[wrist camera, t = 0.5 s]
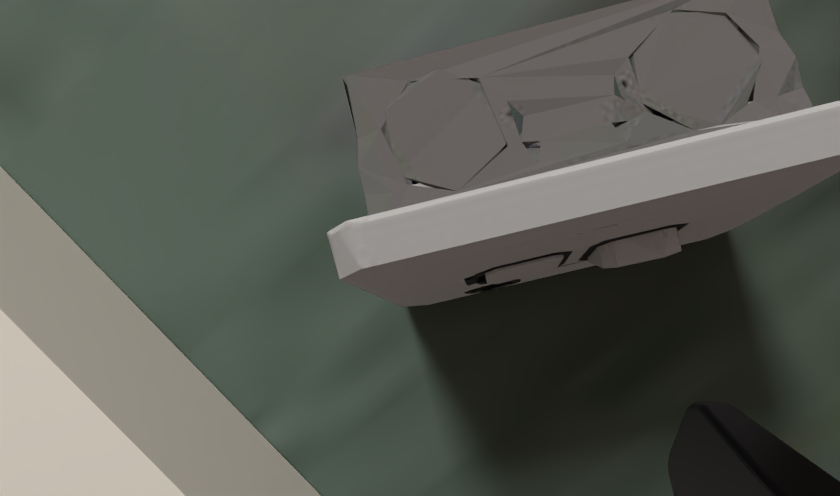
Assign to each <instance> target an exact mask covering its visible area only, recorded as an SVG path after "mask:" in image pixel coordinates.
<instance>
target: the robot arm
mask: <svg viewBox="0 0 840 496" xmlns="http://www.w3.org/2000/svg"><path fill="white" fill-rule="evenodd" d="M668 469H669V476H670V481H671V485H672V489H673V493H674V496H840V482H839V481H838V480H837V479H835V478H834V477H832V476H831V475H829V474H828V473H827V472H825V471H824V470H822V469H821V468H820V467H818V466H817V465H815V464H814V463H812V462H811V461H810V460H808V459H807V458H805V457H804V456H803V455H801V454H800V453H798V452H797V451H795V450H794V449H793V448H791V447H790V446H788V445H787V444H786V443H784V442H783V441H781V440H780V439H778V438H777V437H776V436H774V435H773V434H771V433H770V432H769V431H767V430H766V429H764V428H763V427H761V426H760V425H759V424H757V423H756V422H754V421H753V420H752V419H750V418H749V417H747V416H746V415H744V414H743V413H742V412H740V411H739V410H737V409H736V408H735V407H733V406H731V405H729V404H726V403H717V402H702V401H698V402H695V403H693V404H691V405H690V406H689V407H688V409H687V411H686V413H685V416H684V418H683V421H682V423H681V426H680V428H679V431H678V433H677V436H676V439H675V441H674V444H673V446H672V449H671V451H670V455H669V461H668Z"/></svg>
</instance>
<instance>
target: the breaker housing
mask: <svg viewBox="0 0 840 496" xmlns="http://www.w3.org/2000/svg"><path fill="white" fill-rule="evenodd" d="M0 496H321V495H320V494H319V493H318V492H317V491H316V490H315V489H314V488H313V487H312V486H311V485H310V484H309V483H308V482H307V481H306V480H305V479H304V478H303V477H302V476H301V475H300V474H299V473H298V472H297V471H296V470H295V469H294V468H293V466H292V465H291V464H290V463H289V462H288V461H287V460H286V459H285V458H284V457H283V456H282V455H281V454H280V453H279V452H278V451H277V450H276V449H275V448H274V447H273V446H272V445H271V444H270V443H269V442H268V441H267V440H266V439H265V438H264V437H263V436H262V435H261V434H260V433H259V432H258V431H257V430H256V428H255V427H254V426H253V425H252V424H251V423H250V422H249V421H248V420H247V419H246V418H245V417H244V416H243V415H242V414H241V413H240V412H239V411H238V410H237V409H236V408H235V407H234V406H233V405H232V404H231V403H230V402H229V401H228V400H227V399H226V398H225V397H224V396H223V395H222V394H221V393H220V392H219V390H218V389H217V388H216V387H215V386H214V385H213V384H212V383H211V382H210V381H209V380H208V379H207V378H206V377H205V376H204V375H203V374H202V373H201V372H200V371H199V370H198V369H197V368H196V367H195V366H194V365H193V364H192V363H191V362H190V361H189V360H188V359H187V358H186V357H185V356H184V355H183V353H182V352H181V351H180V350H179V349H178V348H177V347H176V346H175V345H174V344H173V343H172V342H171V341H170V340H169V339H168V338H167V337H166V336H165V335H164V334H163V333H162V332H161V331H160V330H159V329H158V328H157V327H156V326H155V325H154V324H153V323H152V322H151V321H150V320H149V319H148V318H147V317H146V315H145V314H144V313H143V312H142V311H141V310H140V309H139V308H138V307H137V306H136V305H135V304H134V303H133V302H132V301H131V300H130V299H129V298H128V297H127V296H126V295H125V294H124V293H123V292H122V291H121V290H120V289H119V288H118V287H117V286H116V285H115V284H114V283H113V282H112V281H111V280H110V279H109V277H108V276H107V275H106V274H105V273H104V272H103V271H102V270H101V269H100V268H99V267H98V266H97V265H96V264H95V263H94V262H93V261H92V260H91V259H90V258H89V257H88V256H87V255H86V254H85V253H84V252H83V251H82V250H81V249H80V248H79V247H78V246H77V245H76V244H75V243H74V242H73V240H72V239H71V238H70V237H69V236H68V235H67V234H66V233H65V232H64V231H63V230H62V229H61V228H60V227H59V226H58V225H57V224H56V223H55V222H54V221H53V220H52V219H51V218H50V217H49V216H48V215H47V214H46V213H45V212H44V211H43V210H42V209H41V208H40V207H39V206H38V205H37V204H36V202H35V201H34V200H33V199H32V198H31V197H30V196H29V195H28V194H27V193H26V192H25V191H24V190H23V189H22V188H21V187H20V186H19V185H18V184H17V183H16V182H15V181H14V180H13V179H12V178H11V177H10V176H9V175H8V174H7V173H6V172H5V171H4V170H3V169H2V168H1V167H0Z"/></svg>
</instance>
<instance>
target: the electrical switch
mask: <svg viewBox="0 0 840 496" xmlns="http://www.w3.org/2000/svg"><path fill="white" fill-rule="evenodd" d="M673 9H674V10H679V11H684V12H678V13H670V12H671V11H672V10H673ZM632 56H633V70H632V67H631V64H630V60H629V59H630V58H631V57H632ZM345 77H346V82H347V85H346V83H345V82H344V85H345V89H346V93H347V97H348V101H349V105H350V109H351V113H352V117H353V121H354V125H355V129H356V151H357V161H358V169H359V173H360V177H361V181H362V185H363V189H364V193H365V199H366V205H367V212H368V216H365V217H361V218H356V219H352V220H348V221H346V222H344V223H342V224H340V225H339V226H337V227H335V228H334V229H332V230H330V231H329V232H327V235H328V238H329V241H330V245H331V249H332V252H333V256H334V260H335V264H336V267H337V271H338V275H339V279H340V280H342V281H344V282H347V283H349V284H351V285H353V286H356V287H358V288H360V289H362V290H365V291H367V292H369V293H371V294H374V295H376V296H378V297H380V298H383V299H385V300H387V301H390V302H392V303H394V304H396V305H399V306H401V307H407V306H421V305H430V304H435V303H439V302H443V301H447V300H452V299H456V298H460V297H464V296H468V295H473V294H477V293H481V292H485V291H490V290H494V289H498V288H503V287H506V286H511V285H515V284H519V283H523V282H528V281H532V280H536V279H540V278H544V277H549V276H553V275H557V274H561V273H566V272H570V271H574V270H578V269H582V268H587V267H591V266H595V265H596V266H599V267H601V268H617V267H622V266H627V265H631V264H636V263H640V262H645V261H650V260H654V259H659V258H664V257H667V256H669V255H672V254H675V253H677V252H680V251H682V250H681V245H684V244H688V243H692V242H696V241H701V240H705V239H708V238H711V237H713V236H716V235H719V234H721V233H724V232H727V231H729V230H731V229H733V228H735V227H737V226H739V225H741V224H743V223H745V222H747V221H749V220H751V219H753V218H755V217H757V216H759V215H760V214H762V213H764V212H766V211H768V210H770V209H772V208H774V207H776V206H777V205H779V204H781V203H783V202H785V201H787V200H789V199H791V198H792V197H794V196H796V195H798V194H800V193H802V192H803V191H805V190H807V189H809V188H810V187H812V186H814V185H816V184H818V183H819V182H821V181H823V180H825V179H826V178H828V177H830V176H832V175H834V174H835V173H837V172H839V171H840V101H836V102H832V103H828V104H824V105H820V106H815V107H813V106H812V104H811V102H810V100H809V98H808V96H807V94H806V92H805V90H804V88H803V85H802V81H801V76H800V72H799V67H798V63H797V59H796V56H795V55H794V53H793V52H792V51H791V49H790V48H789V46H788V45H787V43H786V42H785V41H784V39H783V38H782V36H781V35H780V33H779V32H778V29H777V26H776V23H775V20H774V17H773V14H772V10H771V7H770V4H769V1H768V0H632V1H629V2H625V3H621V4H617V5H613V6H609V7H606V8H602V9H598V10H594V11H590V12H586V13H583V14H579V15H575V16H571V17H567V18H563V19H560V20H556V21H552V22H548V23H544V24H540V25H537V26H533V27H529V28H525V29H521V30H517V31H514V32H510V33H506V34H502V35H498V36H494V37H491V38H487V39H483V40H479V41H475V42H471V43H468V44H464V45H460V46H456V47H452V48H448V49H445V50H441V51H437V52H433V53H429V54H426V55H422V56H418V57H414V58H410V59H406V60H403V61H399V62H395V63H391V64H387V65H383V66H380V67H376V68H372V69H368V70H364V71H360V72H357V73H353V74H349V75H345ZM614 77H615V79H616V82H617V85H618V88H619V91H620V93H621V96H622V99H621V98H619V97H617V96H616V95H614ZM466 78H468V79H466ZM469 79H470V80H469ZM343 81H344V80H343ZM408 81H412V82H411V83H410V84H409V85H408V87H407V88H406V86H407V83H408ZM405 88H406V89H405ZM508 102H509V103H510V104H511V105H512V106H513V107H514V108H515V109H516V110H517V111H518V112H519V113H521V114H522V115H523V128H522V133H521V134H520V135H519V133H518V130H517V127H516V125H515V122H514V119H513V116H512V113H511V110H510V107H509V105H508Z"/></svg>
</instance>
